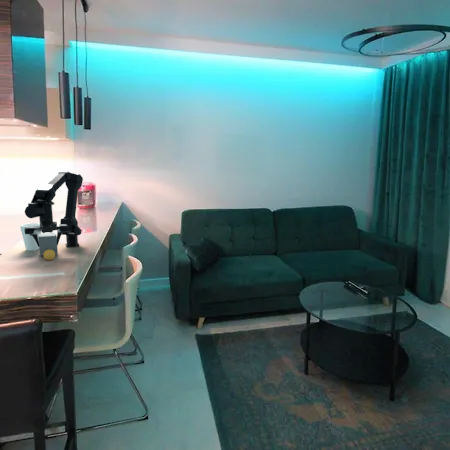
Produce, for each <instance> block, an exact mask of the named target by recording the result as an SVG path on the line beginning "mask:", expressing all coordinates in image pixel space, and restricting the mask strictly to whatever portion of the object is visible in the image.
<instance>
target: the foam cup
mask: <svg viewBox="0 0 450 450" xmlns="http://www.w3.org/2000/svg"><path fill="white" fill-rule="evenodd" d="M27 226H34V228H40V222H39V223H38V222H29V223H27V222H26V223H23V224H20V228H19V229H20V232H21V235H22V239H23V242H24V243H23V244H24V247H25V250H26V251H30V252H31V251H33V252H34V251H37V250H39V247H38V245H37V243H36V241H35V239H34V237H33V236H30V234H25V227H27ZM38 234H42V232H41V231H38V232H37V236H38ZM38 241H39V237H38Z"/></svg>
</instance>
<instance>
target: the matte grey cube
mask: <svg viewBox="0 0 450 450" xmlns="http://www.w3.org/2000/svg"><path fill="white" fill-rule="evenodd" d="M38 237H39V249H38V250H39V256H43V254H44V252H45V251H46V250H49V249H50V250H53V251H54V252H55V255H56V254H58V252H59V251H58V246H57V232H51V233H50V232H46V233H41V234H38Z"/></svg>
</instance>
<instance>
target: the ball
mask: <svg viewBox="0 0 450 450" xmlns="http://www.w3.org/2000/svg"><path fill="white" fill-rule="evenodd" d="M42 256H43V258H44V259H45V260H47V261H51V260H53V259H54V258H55V257H56V254H55V252H54V251H53V250H50V249H49V250H46V251H45V252H44V254H43V255H42Z"/></svg>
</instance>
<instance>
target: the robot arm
mask: <svg viewBox="0 0 450 450" xmlns="http://www.w3.org/2000/svg"><path fill="white" fill-rule="evenodd" d="M83 181H84V178H83V176H82V175H81V174H80V173H74V172H70V171H65V170H64V171H63V170H61V171H59V172H58V173H57V175H55V176H54V177H53V179H52V180H50V181H49V183H47V184H46V185H43V186H41V187H39V188H37V189H36V190H35V192H34V195H33V197H32V199H31V202H29V203H28V204H27V206H26V207H25V209H24V214H25V216H26V217H27V218H29V219H35V218H39V223H40V228H34V226H27V227H25V234H30V236H33V237H34V239H35V241H36V243H37V245H38V247H39V241H38V236H37V232H38V231H41V234H43V233H54V231H57V232H56V236H57V247H58V245H59V242H60V239H61V236H62V235H63V236H65V240H66V243H65V247H66V248H70V247H79V246H80V244H79V238H78V237H79V236H80V235H82V229H81V228H80V227H79V222H78V220H77V218H76V211H77V205H78V204H77V203H78V193H79V190H80V189H81V187H83V186H82V185H83ZM64 184H65V187H66V188H67V195H66V204H65V215H64V216H63V218H61V219H60V224H58V223H57V221H54V216H53V206H54V205H55V202H54V201H53V199H54V198H55V196H56V192H57V191H58V190H59V189H60V188H61V187H62V186H63V185H64Z"/></svg>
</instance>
